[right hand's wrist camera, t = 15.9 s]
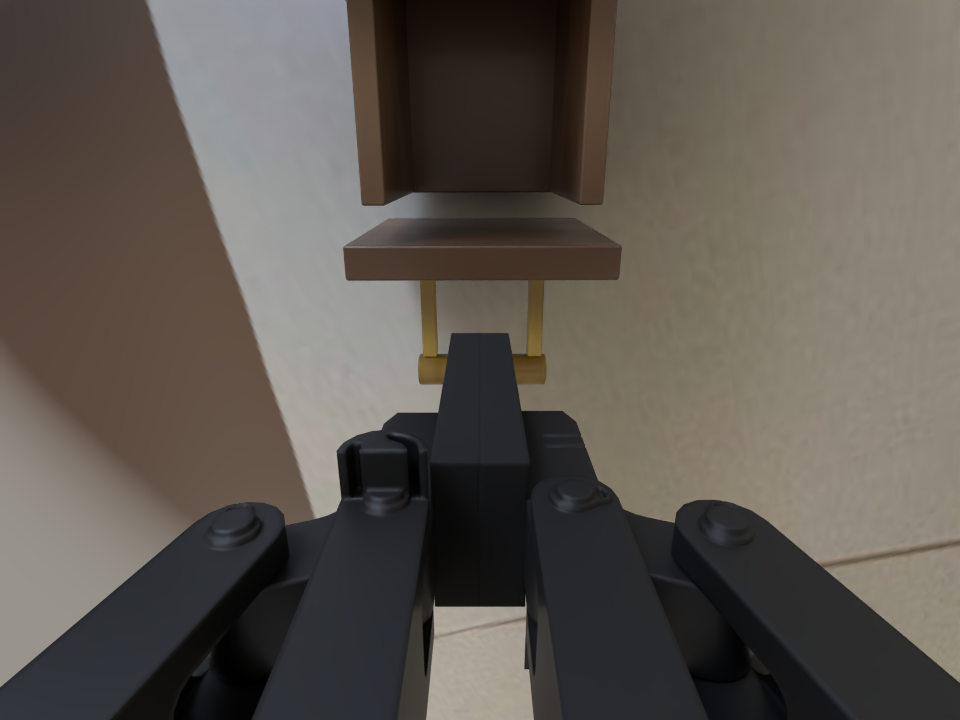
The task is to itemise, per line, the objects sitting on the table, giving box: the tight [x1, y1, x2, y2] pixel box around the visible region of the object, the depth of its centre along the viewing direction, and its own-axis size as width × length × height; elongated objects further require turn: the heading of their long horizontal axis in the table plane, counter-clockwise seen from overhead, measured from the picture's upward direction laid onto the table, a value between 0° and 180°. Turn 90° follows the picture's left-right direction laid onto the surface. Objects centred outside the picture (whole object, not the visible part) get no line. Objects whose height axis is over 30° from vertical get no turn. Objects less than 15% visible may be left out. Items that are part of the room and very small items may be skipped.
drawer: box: [343, 0, 622, 384], centre depth 21 cm, size 24×10×10 cm, turn 0°
